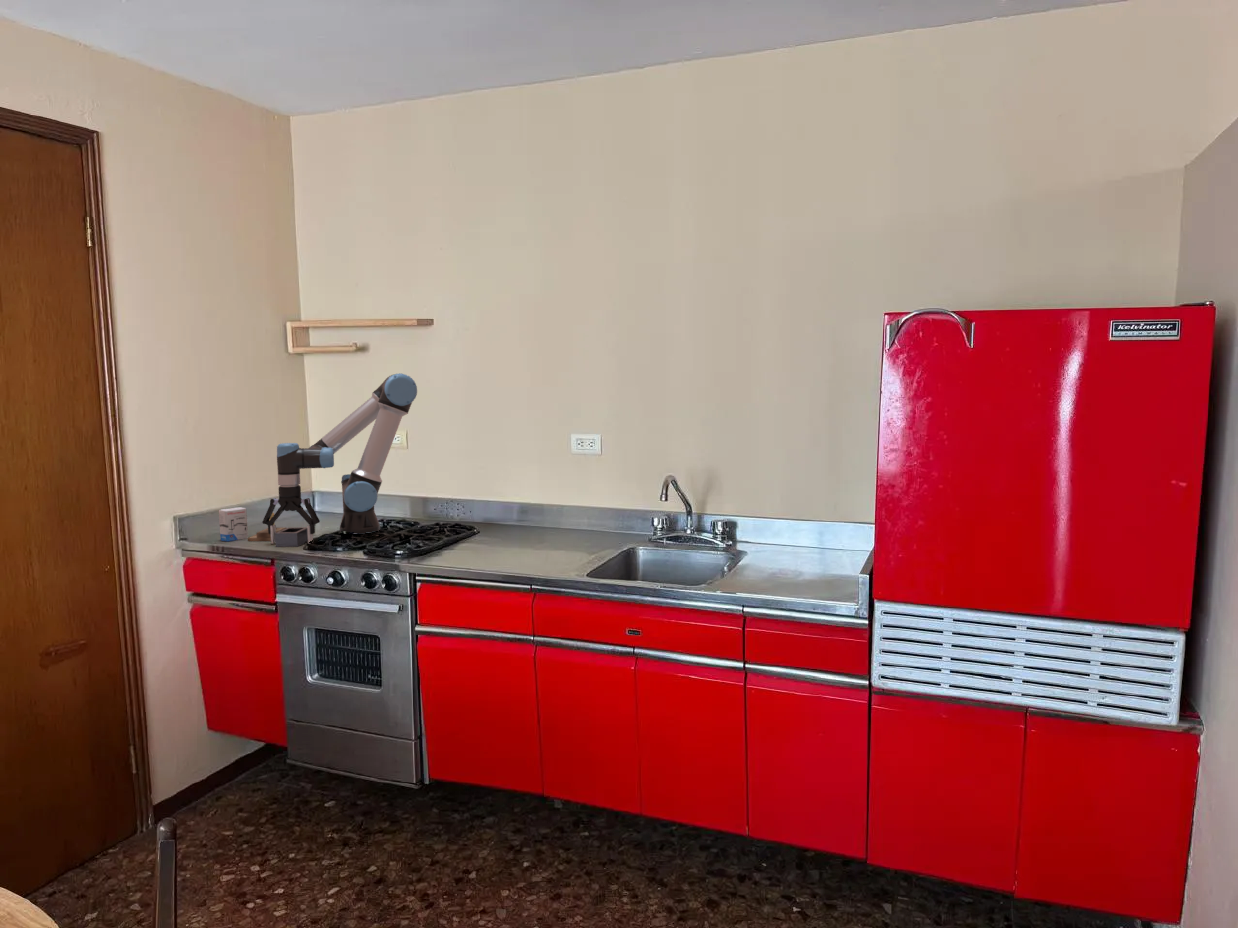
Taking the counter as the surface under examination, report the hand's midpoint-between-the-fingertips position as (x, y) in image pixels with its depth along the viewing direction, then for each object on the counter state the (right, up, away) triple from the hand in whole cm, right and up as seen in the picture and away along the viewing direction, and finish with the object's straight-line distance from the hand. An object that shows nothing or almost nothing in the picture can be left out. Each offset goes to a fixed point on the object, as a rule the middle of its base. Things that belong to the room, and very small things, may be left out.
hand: (292, 542), depth 300 cm
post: (-12, +4, +10) cm, 16 cm away
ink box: (-26, 0, +10) cm, 28 cm away
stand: (-12, +1, +11) cm, 16 cm away
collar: (0, 0, 0) cm, 0 cm away
